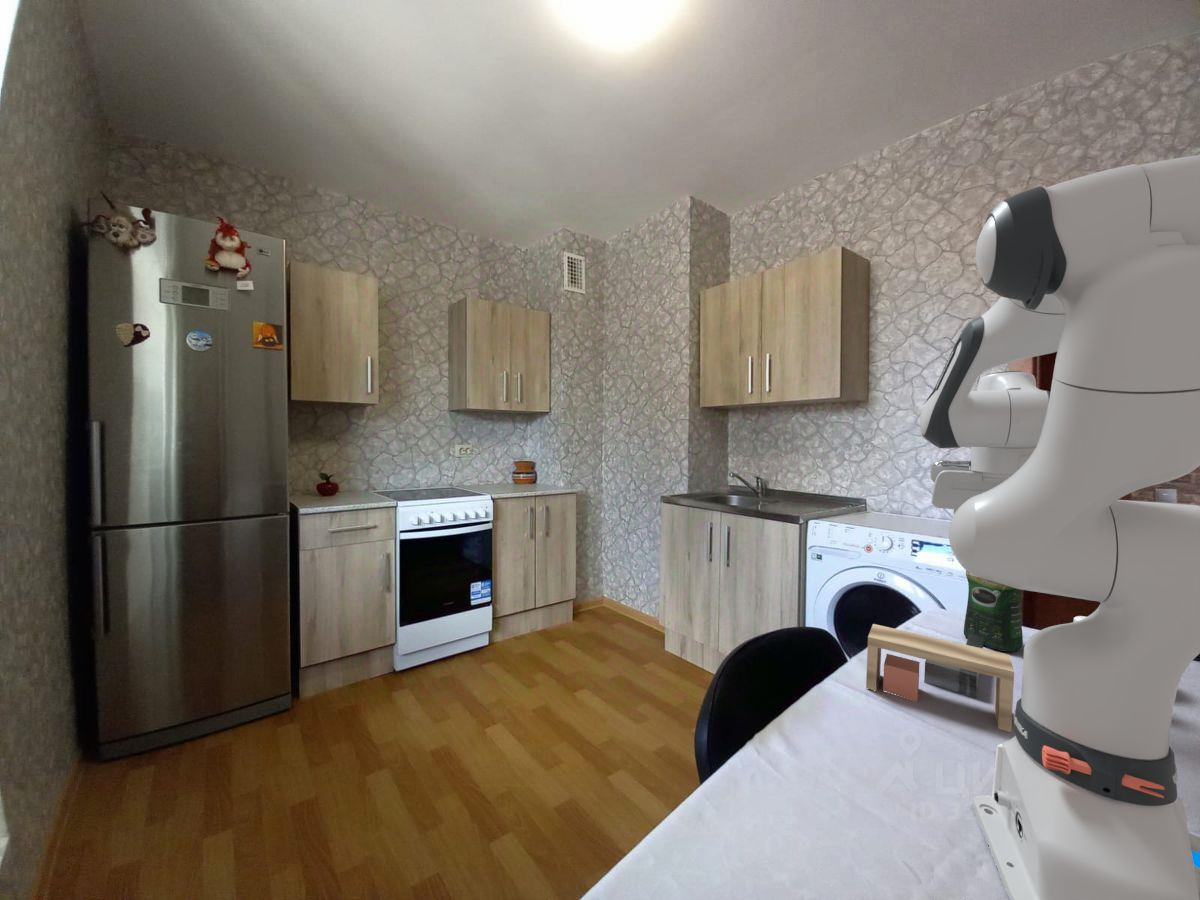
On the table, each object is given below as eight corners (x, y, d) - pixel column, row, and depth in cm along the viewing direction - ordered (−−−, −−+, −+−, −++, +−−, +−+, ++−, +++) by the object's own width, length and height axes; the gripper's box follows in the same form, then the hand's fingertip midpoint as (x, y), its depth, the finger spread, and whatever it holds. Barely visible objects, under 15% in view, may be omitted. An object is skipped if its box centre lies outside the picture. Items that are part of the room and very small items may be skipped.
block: (917, 702, 79) (918, 673, 79) (882, 691, 82) (883, 664, 82) (918, 689, 83) (919, 661, 83) (885, 679, 86) (886, 653, 86)
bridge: (1011, 732, 71) (1014, 672, 71) (866, 688, 83) (868, 636, 82) (1006, 710, 77) (1009, 654, 76) (871, 672, 89) (873, 623, 88)
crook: (975, 698, 80) (976, 676, 80) (924, 682, 85) (925, 661, 85) (982, 655, 96) (983, 636, 96) (938, 643, 101) (939, 626, 101)
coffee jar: (1029, 649, 99) (1033, 563, 98) (1007, 656, 96) (1012, 567, 95) (977, 631, 108) (981, 552, 107) (956, 637, 105) (960, 555, 104)
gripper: (930, 461, 88) (927, 532, 89) (1083, 467, 76) (1078, 550, 77) (931, 458, 93) (928, 526, 94) (1075, 463, 81) (1070, 541, 82)
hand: (997, 537), depth 86 cm, fingers open, 8 cm apart
